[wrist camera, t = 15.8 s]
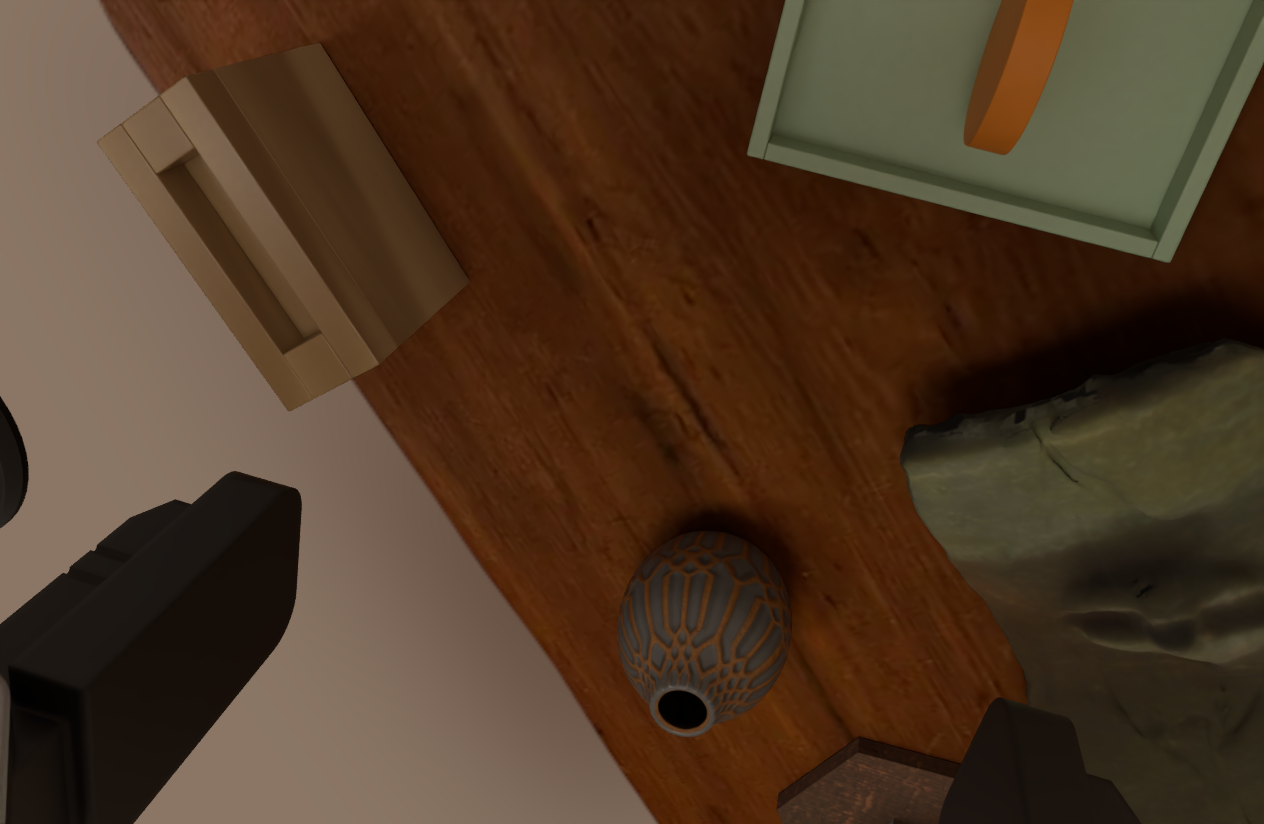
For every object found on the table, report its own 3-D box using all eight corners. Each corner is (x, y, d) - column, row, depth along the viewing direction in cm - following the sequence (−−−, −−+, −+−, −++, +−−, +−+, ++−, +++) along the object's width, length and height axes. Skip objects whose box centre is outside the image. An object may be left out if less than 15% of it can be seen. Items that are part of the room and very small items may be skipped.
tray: (752, 144, 37) (746, 155, 36) (849, -237, 32) (846, -244, 30) (1157, 246, 36) (1170, 264, 34) (1331, -134, 30) (1357, -136, 29)
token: (963, 106, 35) (962, 177, 31) (1032, -85, 32) (1044, -38, 27) (998, 115, 35) (1004, 187, 30) (1072, -75, 31) (1091, -27, 27)
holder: (391, 324, 44) (288, 412, 36) (241, 97, 41) (95, 141, 33) (470, 281, 42) (379, 364, 35) (320, 41, 39) (185, 75, 32)
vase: (623, 512, 45) (567, 639, 37) (782, 497, 43) (758, 627, 35) (658, 643, 48) (614, 786, 40) (810, 635, 46) (794, 784, 38)
